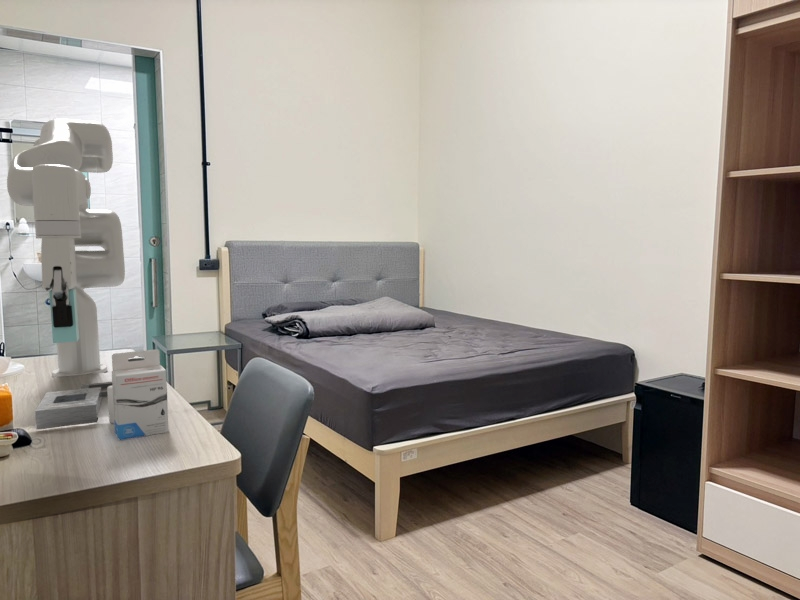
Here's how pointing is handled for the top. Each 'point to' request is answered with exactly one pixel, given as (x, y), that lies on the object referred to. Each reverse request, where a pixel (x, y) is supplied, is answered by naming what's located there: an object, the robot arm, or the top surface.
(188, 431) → the top surface
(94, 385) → the grey square socket
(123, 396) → the ink box
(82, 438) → the top surface
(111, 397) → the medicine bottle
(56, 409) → the port
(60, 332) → the plug
